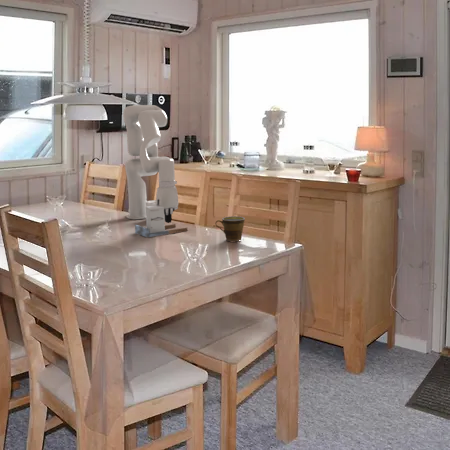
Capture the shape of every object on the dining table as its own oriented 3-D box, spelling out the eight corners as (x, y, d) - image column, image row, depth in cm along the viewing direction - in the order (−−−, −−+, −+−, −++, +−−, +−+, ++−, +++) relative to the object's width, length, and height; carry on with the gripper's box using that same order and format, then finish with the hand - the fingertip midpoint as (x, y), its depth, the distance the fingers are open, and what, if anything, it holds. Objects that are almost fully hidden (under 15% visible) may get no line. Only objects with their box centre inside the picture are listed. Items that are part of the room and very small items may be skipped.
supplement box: (150, 235, 288) (148, 208, 285) (146, 232, 295) (145, 206, 292) (165, 233, 291) (164, 207, 288) (161, 230, 297) (160, 204, 295)
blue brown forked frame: (135, 233, 293) (134, 224, 292) (174, 226, 306) (174, 219, 305) (147, 237, 284) (146, 228, 283) (187, 230, 297) (187, 222, 296)
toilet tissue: (142, 221, 321) (141, 202, 319) (155, 217, 331) (155, 199, 329) (159, 223, 316) (158, 203, 314) (172, 219, 326) (171, 200, 324)
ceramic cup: (244, 237, 280) (243, 216, 278) (245, 242, 270) (245, 220, 268) (215, 238, 279) (215, 216, 277) (216, 243, 270) (215, 221, 268)
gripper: (176, 182, 300) (177, 219, 304) (149, 185, 292) (150, 223, 295) (184, 183, 294) (185, 221, 298) (157, 186, 286) (158, 225, 289)
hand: (168, 222), depth 297 cm, fingers closed
